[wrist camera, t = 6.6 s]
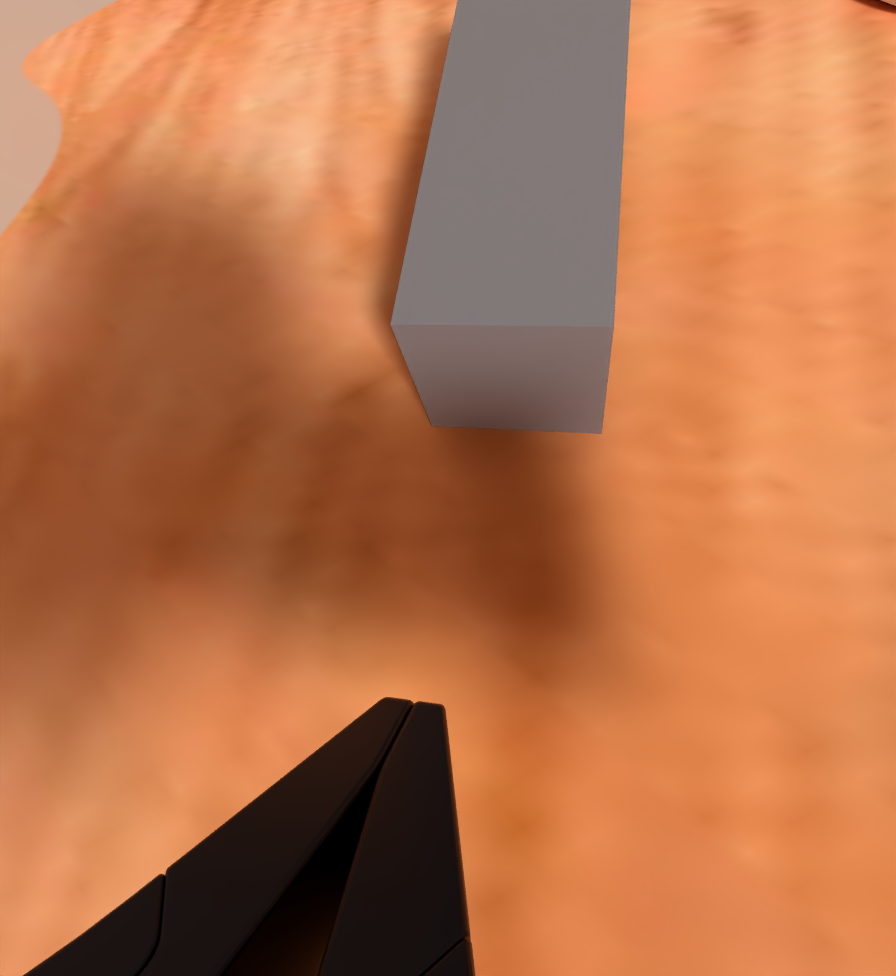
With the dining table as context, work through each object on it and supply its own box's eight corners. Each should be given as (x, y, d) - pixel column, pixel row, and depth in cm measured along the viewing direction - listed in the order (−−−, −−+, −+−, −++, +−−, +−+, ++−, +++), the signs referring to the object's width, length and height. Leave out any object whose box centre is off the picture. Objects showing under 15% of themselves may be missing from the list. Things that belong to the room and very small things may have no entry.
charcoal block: (613, 326, 13) (634, -67, 18) (390, 324, 14) (467, -47, 20) (601, 434, 18) (620, 95, 23) (431, 426, 19) (485, 103, 24)
